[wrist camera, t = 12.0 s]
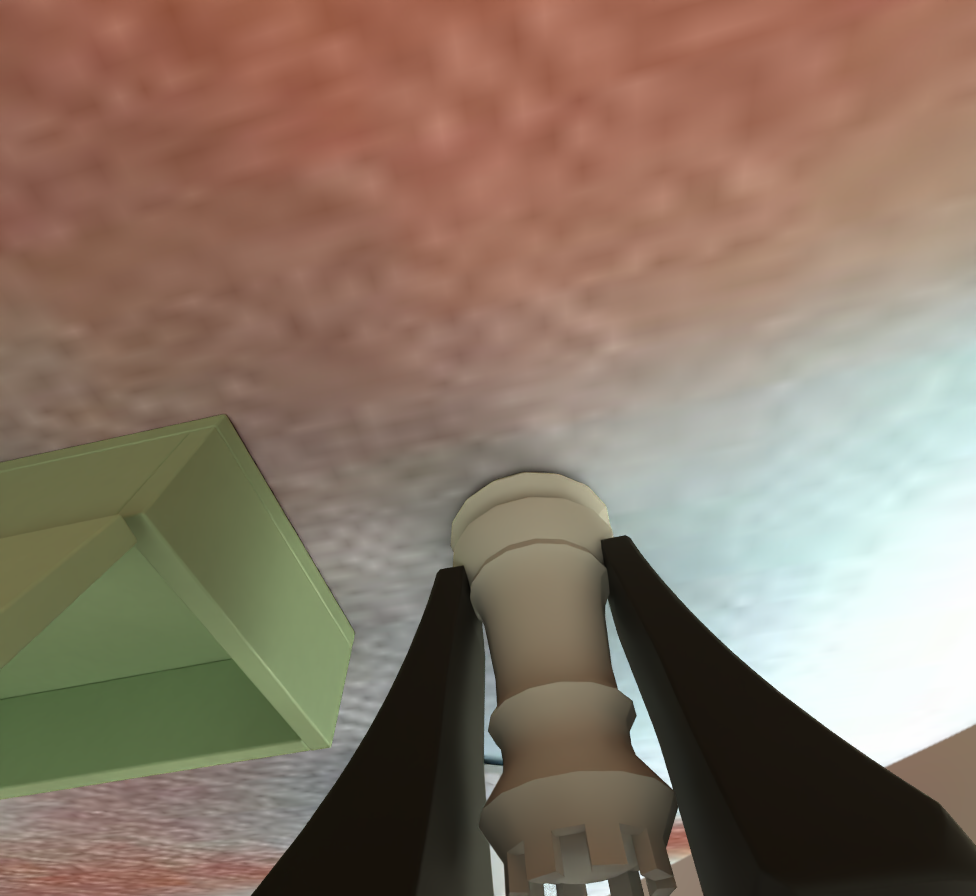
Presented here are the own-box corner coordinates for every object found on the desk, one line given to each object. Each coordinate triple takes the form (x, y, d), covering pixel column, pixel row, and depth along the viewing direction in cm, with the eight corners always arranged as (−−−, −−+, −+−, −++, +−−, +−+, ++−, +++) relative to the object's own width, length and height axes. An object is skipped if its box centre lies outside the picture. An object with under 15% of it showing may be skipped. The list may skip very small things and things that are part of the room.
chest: (355, 632, 16) (331, 747, 13) (-28, 700, 17) (-131, 821, 14) (226, 412, 11) (142, 513, 8) (-290, 524, 12) (-528, 649, 9)
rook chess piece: (569, 434, 12) (700, 803, 5) (628, 544, 14) (772, 901, 8) (419, 504, 13) (376, 886, 7) (496, 597, 15) (522, 953, 9)
